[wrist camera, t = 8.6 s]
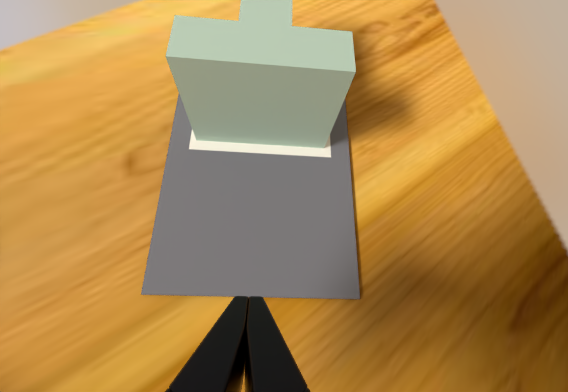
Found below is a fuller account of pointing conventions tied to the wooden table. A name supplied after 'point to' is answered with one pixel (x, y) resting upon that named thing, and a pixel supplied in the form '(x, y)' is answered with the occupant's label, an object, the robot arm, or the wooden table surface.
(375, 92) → the wooden table surface
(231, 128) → the t block
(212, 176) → the mat
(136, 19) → the wooden table surface
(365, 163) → the wooden table surface
